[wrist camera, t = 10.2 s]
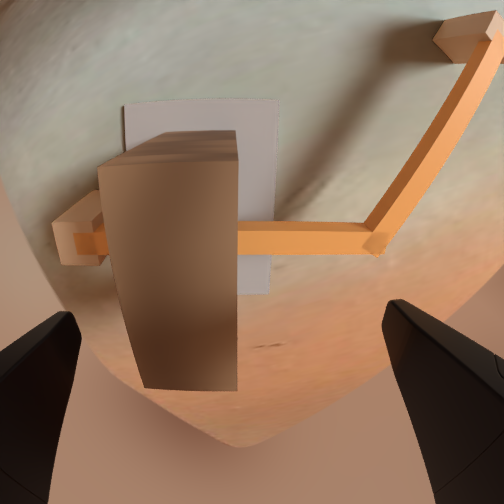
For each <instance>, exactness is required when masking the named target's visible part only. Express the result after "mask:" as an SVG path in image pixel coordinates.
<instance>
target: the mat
mask: <svg viewBox="0 0 504 504" xmlns="http://www.w3.org/2000/svg"><path fill="white" fill-rule="evenodd" d="M124 113H125V140H126V151H128V150H130V149H132V148H134V147H136V146H138V145H140V144H142V143H144V142H146V141H148V140H150V139H152V138H154V137H156V136H159V135H161V134H163V133H165V132H174V131H202V130H236V140H237V150H238V159H239V174H238V221H274V205H275V187H276V167H277V146H278V124H279V100H272V99H239V98H217V99H184V100H167V101H154V102H143V103H133V104H124ZM271 256H272V255H237V295H250V294H269V287H270V271H271Z"/></svg>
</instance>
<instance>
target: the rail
mask: <svg viewBox="0 0 504 504" xmlns="http://www.w3.org/2000/svg"><path fill="white" fill-rule="evenodd" d="M432 41H433V42H434V43H435V44H436V45H437V46H438V47H439V48H440V49H441V50H442V51H443V52H444V53H445V54H446V55H447V56H448V57H449V58H450V59H451V60H452V62H453V63H454V64H462V63H467V64H466V66H465V68H464V69H463V71H462V73H461V75H460V77H459V78H458V80H457V82H456V84H455V85H454V87H453V89H452V90H451V92H450V94H449V96H448V97H447V99H446V101H445V102H444V104H443V106H442V107H441V109H440V110H439V112H438V114H437V115H436V117H435V119H434V120H433V122H432V123H431V125H430V127H429V128H428V130H427V131H426V133H425V134H424V136H423V138H422V139H421V141H420V142H419V144H418V145H417V147H416V148H415V150H414V151H413V153H412V154H411V156H410V158H409V159H408V161H407V162H406V164H405V165H404V166H403V168H402V169H401V171H400V172H399V174H398V175H397V177H396V178H395V180H394V181H393V183H392V184H391V186H390V187H389V188H388V190H387V191H386V193H385V194H384V196H383V197H382V198H381V200H380V201H379V203H378V204H377V205H376V207H375V208H374V210H373V211H372V212H371V214H370V215H369V216H368V218H367V219H366V221H365V222H364V223H347V222H298V221H238V255H311V254H372V255H374V256H375V257H377V258H378V256H379V255H380V254H385V249H386V246H387V245H388V243H389V242H390V241H391V239H392V238H393V237H394V235H395V234H396V233H397V231H398V230H399V229H400V227H401V226H402V225H403V223H404V222H405V220H406V219H407V218H408V216H409V215H410V213H411V212H412V211H413V209H414V208H415V206H416V205H417V204H418V202H419V201H420V199H421V198H422V196H423V195H424V193H425V192H426V190H427V189H428V188H429V186H430V185H431V183H432V182H433V180H434V179H435V177H436V175H437V174H438V172H439V171H440V169H441V168H442V166H443V165H444V163H445V162H446V160H447V158H448V157H449V155H450V154H451V152H452V150H453V149H454V147H455V145H456V144H457V142H458V141H459V139H460V137H461V135H462V134H463V132H464V130H465V129H466V127H467V125H468V124H469V122H470V120H471V118H472V117H473V115H474V113H475V111H476V109H477V108H478V106H479V104H480V102H481V100H482V98H483V96H484V95H485V93H486V91H487V89H488V87H489V85H490V83H491V81H492V79H493V77H494V75H495V73H496V71H497V69H498V67H499V65H500V64H504V19H503V18H502V17H501V15H500V14H499V13H498V12H497V10H495V11H489V12H482V13H477V14H471V15H466V16H461V17H456V18H452V19H447V20H444V22H443V23H442V25H441V27H440V28H439V30H438V32H437V33H436V35H435V36H434V38H433V40H432ZM52 227H53V232H54V236H55V241H56V245H57V249H58V253H59V257H60V261H61V265H87V266H100V265H101V263H102V262H103V260H104V259H105V257H106V256H107V255H109V249H108V244H107V238H106V232H105V226H104V219H103V213H102V205H101V198H100V190H93V191H91V192H90V193H89V194H87V195H86V196H85V197H83V198H82V199H81V200H80V201H78V202H77V203H76V204H74V205H73V206H72V207H71V208H69V209H68V210H67V211H65V212H64V213H63V214H62V215H61V216H59V217H58V218H57V219H56V220H54V221H53V222H52Z"/></svg>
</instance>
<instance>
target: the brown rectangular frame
mask: <svg viewBox="0 0 504 504" xmlns="http://www.w3.org/2000/svg"><path fill="white" fill-rule="evenodd" d="M97 171H98V181H99V190H100V198H101V205H102V213H103V219H104V226H105V232H106V238H107V244H108V249H109V255H110V260H111V265H112V270H113V275H114V280H115V284H116V289H117V293H118V297H119V302H120V306H121V310H122V314H123V318H124V322H125V325H126V329H127V333H128V336H129V340H130V343H131V347H132V350H133V354H134V357H135V360H136V364H137V367H138V370H139V373H140V376H141V379H142V382H143V385H144V388H150V389H164V390H184V391H237V255H238V174H239V159H238V150H237V140H236V130H202V131H174V132H165V133H163V134H161V135H159V136H156V137H154V138H152V139H150V140H148V141H146V142H144V143H142V144H140V145H138V146H136V147H134V148H132V149H130V150H128V151H126V152H124V153H122V154H120V155H119V156H117V157H115V158H113V159H111V160H109V161H107V162H106V163H104V164H102V165H100V166H98V167H97Z"/></svg>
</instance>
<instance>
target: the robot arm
mask: <svg viewBox="0 0 504 504" xmlns="http://www.w3.org/2000/svg"><path fill="white" fill-rule="evenodd" d="M382 332H383V336H384V339H385V343H386V346H387V350H388V353H389V357H390V361H391V365H392V368H393V371H394V375H395V378H396V381H397V383H398V386H399V389H400V391H401V394H402V397H403V400H404V402H405V405H406V407H407V411H408V413H409V416H410V419H411V422H412V425H413V428H414V431H415V434H416V437H417V440H418V443H419V447H420V449H421V453H422V456H423V459H424V462H425V466H426V469H427V473H428V476H429V480H430V483H431V487H432V491H433V493H434V499H435V503H436V504H504V359H502V358H501V357H499V356H498V355H496V354H495V355H494V353H492V352H491V351H489V350H487V349H486V348H484V347H483V346H481V345H479V344H478V343H476V342H475V341H473V340H471V339H470V338H468V337H466V336H465V335H463V334H461V333H460V332H458V331H456V330H455V329H453V328H451V327H450V326H448V325H446V324H444V323H443V322H441V321H439V320H438V319H436V318H434V317H433V316H431V315H429V314H427V313H426V312H424V311H422V310H420V309H419V308H417V307H415V306H414V305H412V304H410V303H408V302H407V301H405V300H403V299H396V300H390V301H389V302H388V303H387V306H386V310H385V313H384V317H383V321H382ZM81 340H82V337H81V332H80V330H79V327H78V325H77V322H76V320H75V318H74V315H73V314H72V313H71V312H69V311H59V312H57V313H56V314H54V315H53V316H51V317H50V318H48V319H47V320H45V321H44V322H42V323H41V324H39V325H38V326H36V327H35V328H33V329H32V330H30V331H29V332H27V333H26V334H25V335H23V336H22V337H20V338H19V339H17V340H16V341H14V342H13V343H12V344H10V345H9V346H7V347H6V348H5V349H3V350H2V351H0V504H48V499H49V491H50V485H51V479H52V472H53V467H54V462H55V456H56V451H57V446H58V442H59V437H60V432H61V428H62V424H63V420H64V416H65V412H66V408H67V404H68V400H69V396H70V393H71V389H72V385H73V381H74V375H75V370H76V365H77V360H78V355H79V350H80V346H81Z"/></svg>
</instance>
